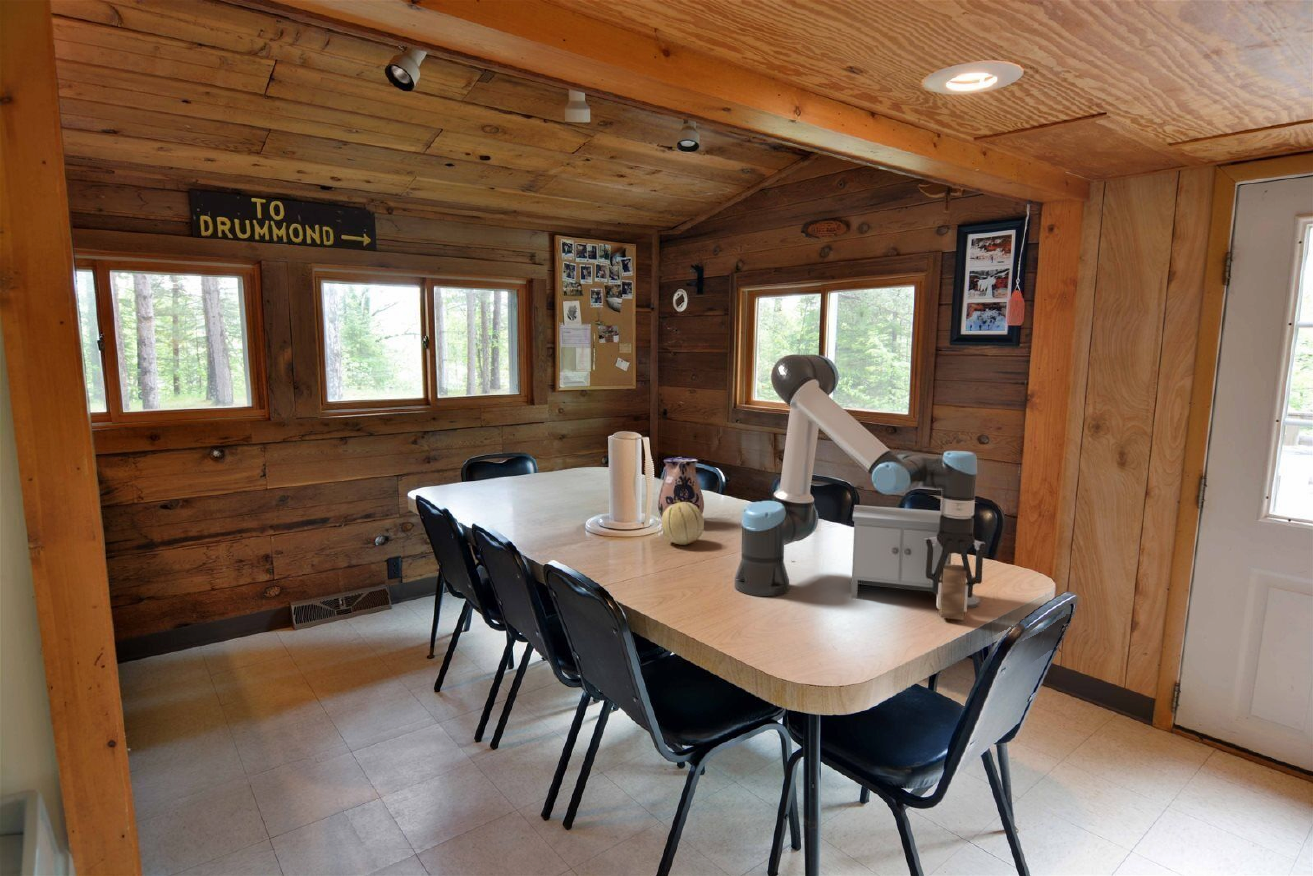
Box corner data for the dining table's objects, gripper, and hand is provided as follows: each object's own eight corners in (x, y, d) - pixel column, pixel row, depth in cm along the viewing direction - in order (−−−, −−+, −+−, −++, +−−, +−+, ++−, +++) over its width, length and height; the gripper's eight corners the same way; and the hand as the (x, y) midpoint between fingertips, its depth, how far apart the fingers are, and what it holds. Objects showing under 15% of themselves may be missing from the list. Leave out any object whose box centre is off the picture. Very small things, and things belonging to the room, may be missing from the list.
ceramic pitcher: (663, 531, 252) (663, 463, 249) (652, 517, 272) (652, 455, 269) (709, 529, 255) (710, 462, 252) (694, 516, 276) (695, 454, 273)
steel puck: (950, 606, 177) (951, 599, 177) (948, 597, 184) (948, 590, 184) (980, 610, 175) (980, 602, 175) (976, 601, 182) (977, 593, 181)
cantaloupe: (701, 550, 226) (702, 506, 224) (658, 548, 228) (658, 504, 227) (705, 539, 241) (706, 497, 239) (664, 537, 243) (664, 495, 241)
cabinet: (848, 599, 182) (852, 517, 179) (851, 580, 197) (854, 504, 194) (950, 610, 174) (956, 525, 171) (944, 590, 189) (949, 511, 187)
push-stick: (941, 617, 166) (944, 569, 165) (931, 589, 186) (934, 546, 184) (963, 619, 165) (966, 571, 164) (951, 591, 185) (954, 547, 183)
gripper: (917, 515, 164) (912, 609, 167) (1000, 521, 159) (994, 618, 161) (916, 509, 171) (911, 598, 174) (995, 515, 166) (989, 607, 169)
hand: (951, 608), depth 168 cm, fingers closed on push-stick, 5 cm apart
